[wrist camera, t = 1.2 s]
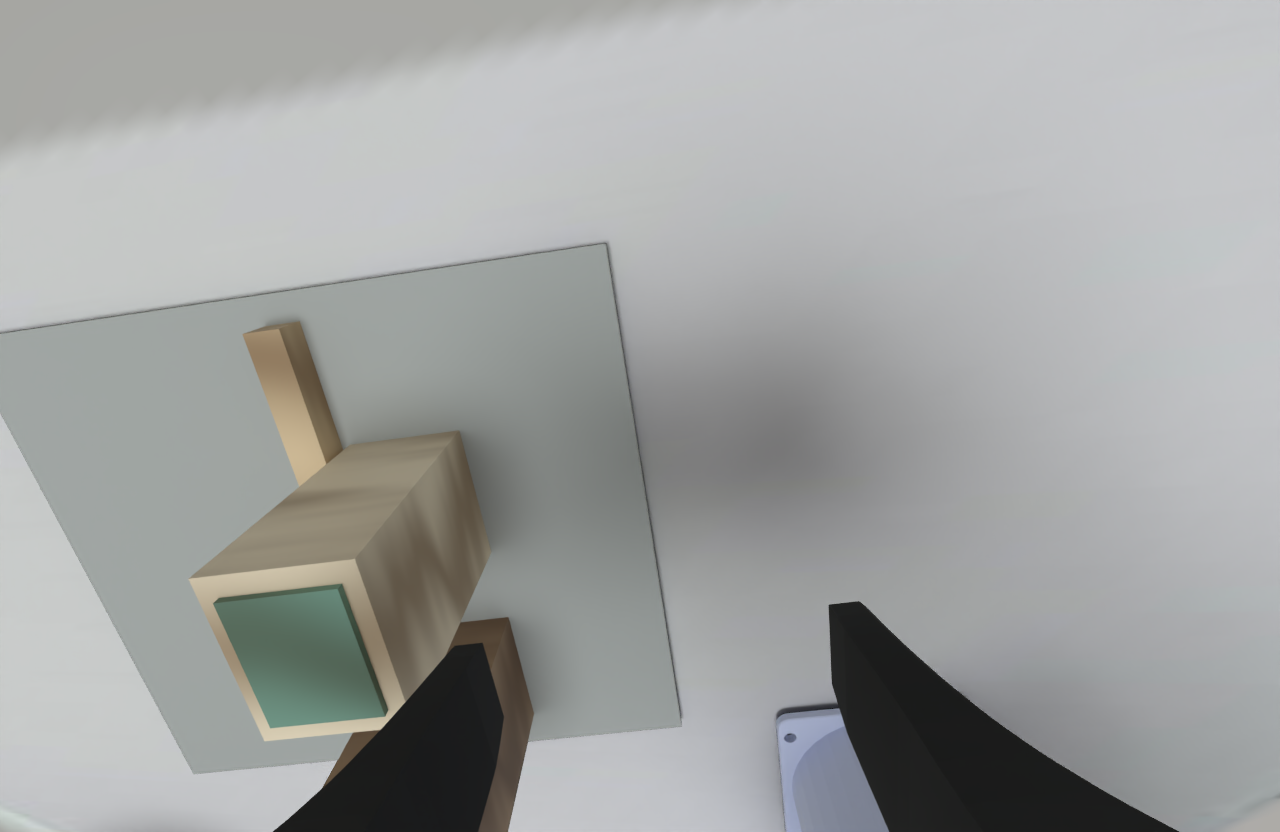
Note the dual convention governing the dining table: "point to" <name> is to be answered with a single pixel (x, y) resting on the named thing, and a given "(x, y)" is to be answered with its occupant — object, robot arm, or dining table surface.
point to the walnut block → (515, 713)
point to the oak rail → (294, 396)
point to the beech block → (349, 587)
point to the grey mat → (362, 412)
